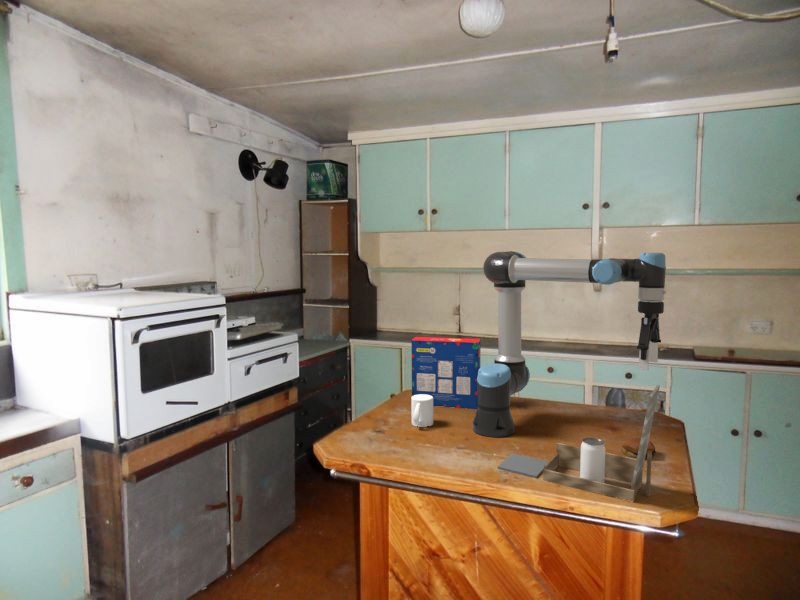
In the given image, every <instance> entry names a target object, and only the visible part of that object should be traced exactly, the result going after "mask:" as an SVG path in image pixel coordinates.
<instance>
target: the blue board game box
mask: <svg viewBox="0 0 800 600" xmlns="http://www.w3.org/2000/svg"><path fill="white" fill-rule="evenodd" d="M480 368H481V338H454V337H429V336H428V337H426V336H424V337H423V336H422V337H421V336H415V337H413V338H412V339H411V397H412V396H414V395H418V394H427V395H431V396H433V407H435V406H444V407H443V408H450V407H455V408H454V409H465V408H467V409H469V410H477V408H478V381H477V377H478V371H479V369H480ZM467 409H466V410H467Z"/></svg>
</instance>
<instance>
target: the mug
mask: <svg viewBox="0 0 800 600" xmlns="http://www.w3.org/2000/svg"><path fill="white" fill-rule="evenodd" d="M410 411H411V414H410V415H411V426H414V427H417V426H418V427H419V428H427V426H429V427H431V426H433V425H434V406H433V396H431V395H427V394H418V395H414V396H412V395H411V409H410Z"/></svg>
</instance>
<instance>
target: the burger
mask: <svg viewBox="0 0 800 600" xmlns="http://www.w3.org/2000/svg"><path fill="white" fill-rule="evenodd" d="M640 441H641V437H639V438H638V437H631V438H627V439H625V440H623V441H622V445H621V453H622V454H623V455H625V457H630V458H634V459H637V456H638V451H639V446H640ZM648 451H652V457H654V456H655V455H656V453H657V452H656V446H655V445H654V443H653V442H652V441H651V440H649V441H648V446H647V451H646V456H645V459H647V453H648Z"/></svg>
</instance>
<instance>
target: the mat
mask: <svg viewBox="0 0 800 600" xmlns="http://www.w3.org/2000/svg"><path fill="white" fill-rule="evenodd" d="M548 461H549V460H544V459H543V460H542V459H538V458H534V457H531V456H530V457H529V456H527V455H526V456H525V455H522V454H521V455H520V454H517V453H512V454H510V455H509V456H508V457H507V458H506V459H505V460H504V461H502V462H501V463H500V464H499V465H498V466H497V469H498V470H503V471H506V472H511V473H514V474H518V475H523V476H525V477H530V476H531V477H530V478H533V479H537V478H538V477H539V476H541V474H543V470H544V465H545V464H546V463H547V462H548Z"/></svg>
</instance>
